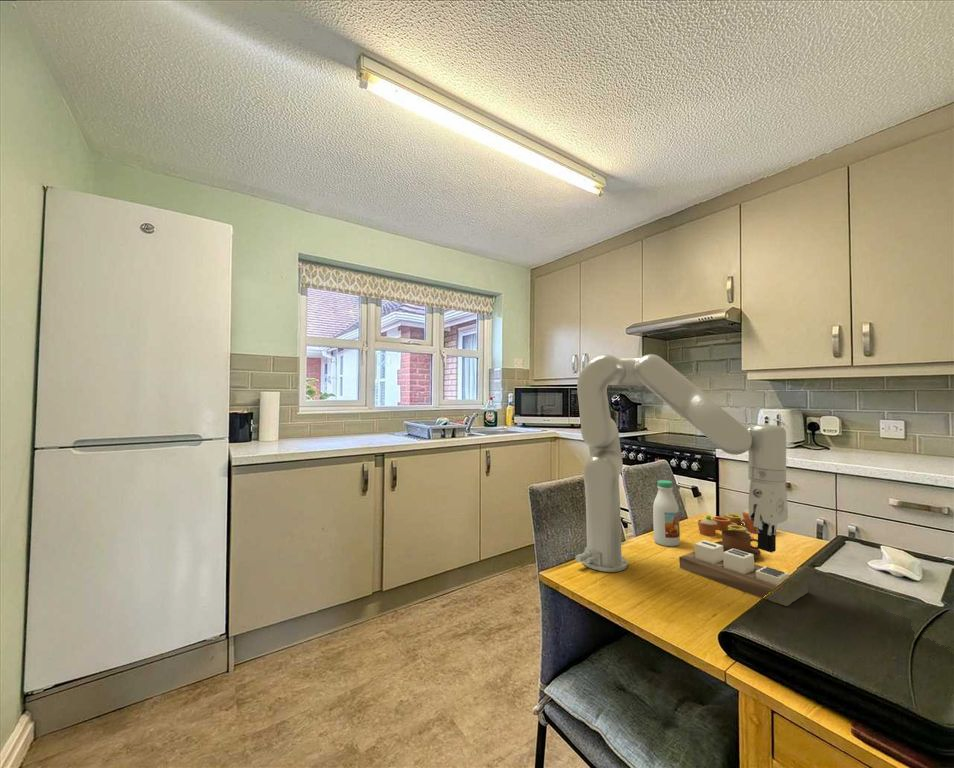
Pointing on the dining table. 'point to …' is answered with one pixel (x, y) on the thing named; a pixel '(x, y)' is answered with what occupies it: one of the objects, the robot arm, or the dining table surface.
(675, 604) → the dining table surface
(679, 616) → the dining table surface
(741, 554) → the tile two
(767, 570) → the tile three
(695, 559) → the board
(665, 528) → the milk bottle
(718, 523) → the toy tea set
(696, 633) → the dining table surface
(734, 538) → the cup and saucer
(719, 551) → the tile one
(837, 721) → the dining table surface
